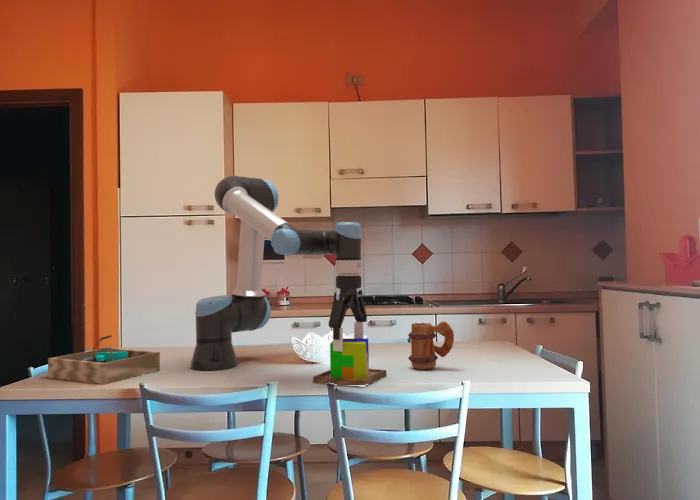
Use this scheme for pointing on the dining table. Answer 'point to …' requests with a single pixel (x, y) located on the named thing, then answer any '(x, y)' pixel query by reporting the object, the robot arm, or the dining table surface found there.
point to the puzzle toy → (350, 359)
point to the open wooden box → (103, 366)
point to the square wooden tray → (371, 377)
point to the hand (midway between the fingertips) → (348, 347)
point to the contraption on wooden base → (107, 354)
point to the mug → (429, 344)
